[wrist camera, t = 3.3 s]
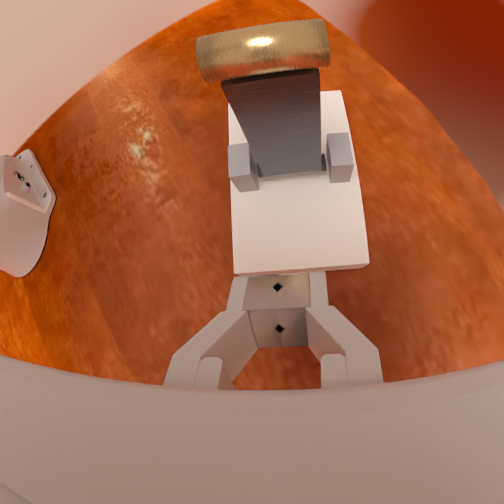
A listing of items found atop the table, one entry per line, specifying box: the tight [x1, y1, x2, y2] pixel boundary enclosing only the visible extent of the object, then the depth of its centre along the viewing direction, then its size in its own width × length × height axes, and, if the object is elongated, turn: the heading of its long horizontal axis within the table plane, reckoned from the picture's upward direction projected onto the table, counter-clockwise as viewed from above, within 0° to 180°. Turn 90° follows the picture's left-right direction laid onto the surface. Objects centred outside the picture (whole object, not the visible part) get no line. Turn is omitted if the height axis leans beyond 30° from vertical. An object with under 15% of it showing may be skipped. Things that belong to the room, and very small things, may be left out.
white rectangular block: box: [228, 90, 369, 276], centre depth 29 cm, size 18×12×9 cm, turn 3°
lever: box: [196, 19, 330, 178], centre depth 20 cm, size 3×6×17 cm, turn 93°
